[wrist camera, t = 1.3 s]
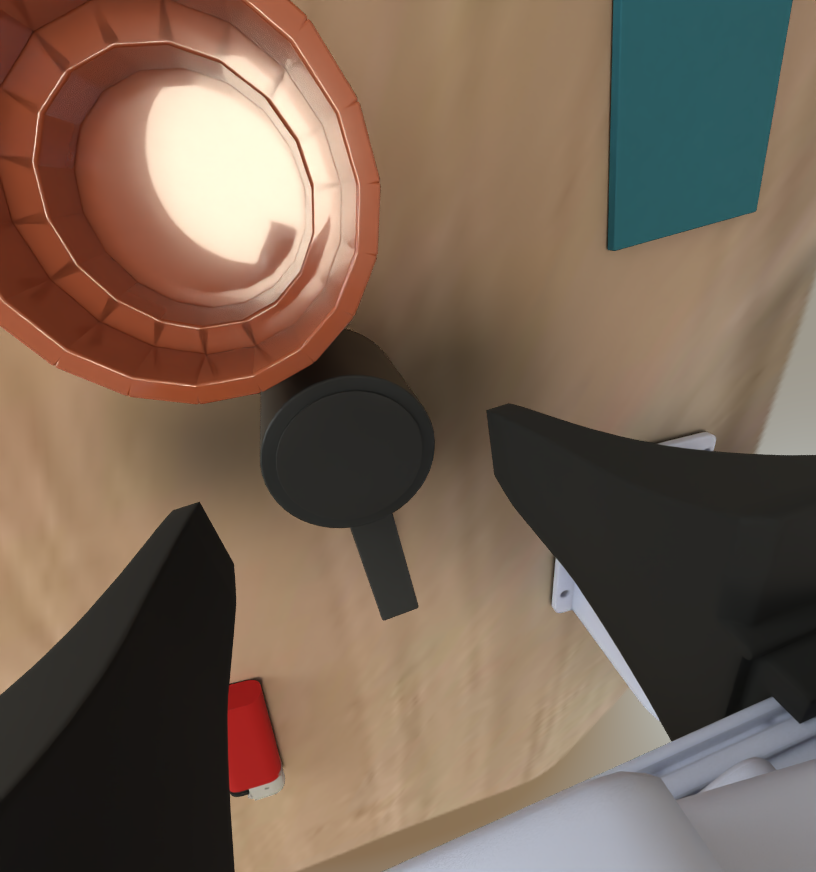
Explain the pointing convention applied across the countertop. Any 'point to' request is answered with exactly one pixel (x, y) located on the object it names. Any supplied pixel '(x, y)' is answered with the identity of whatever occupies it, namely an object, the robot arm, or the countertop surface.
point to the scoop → (350, 455)
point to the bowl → (179, 193)
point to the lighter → (251, 744)
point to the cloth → (690, 112)
